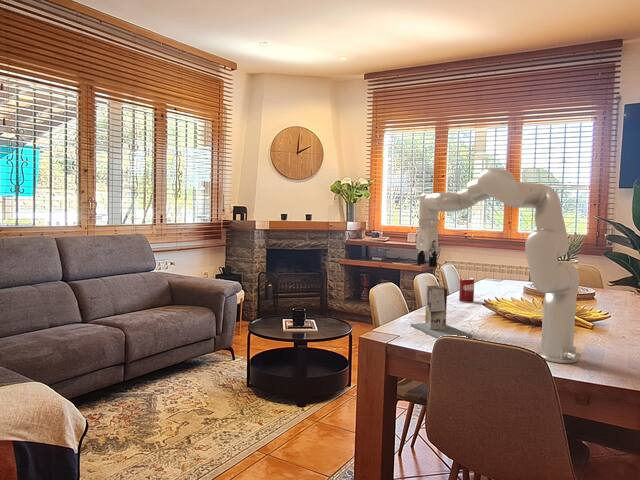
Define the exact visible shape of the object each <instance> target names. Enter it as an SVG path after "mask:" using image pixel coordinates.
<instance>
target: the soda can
mask: <svg viewBox="0 0 640 480" xmlns="http://www.w3.org/2000/svg"><path fill="white" fill-rule="evenodd" d="M458 290H459V291H458V292H459V293H458V294H459V296H458V301H459V302H460V303H465V304H470V303H471V304H472V303H473V302H474V300H475V279H474V278H472V277H460V279H459V289H458Z"/></svg>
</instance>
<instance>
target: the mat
mask: <svg viewBox="0 0 640 480" xmlns="http://www.w3.org/2000/svg"><path fill="white" fill-rule="evenodd" d="M410 327H412V328H414V329H416V330H418V331H421V332H422V333H424V334H426V335H429V336H431V337H433V338H435V339H437V338H439V337H440V336H444V335H457V336H466V337H471V338H473V335H472V334H470V333H468V332H465V331H463V330H460V329H458V328H455V327H453V326H451V325H448V324H447V323H446V329H445V330H436V329H430V328H429V327H428V326H427V325H426V324H425V322H420V323H410Z"/></svg>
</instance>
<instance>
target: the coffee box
mask: <svg viewBox="0 0 640 480" xmlns="http://www.w3.org/2000/svg"><path fill="white" fill-rule="evenodd" d="M425 290H426V291H425V319H424V321H425V322H424V323H425V324H426V325H427V326H428V327H429V328H430V329H436V330H445V329H446V324H447V305H448V304H447V303H448V302H447V300H448V288H446V287H444V286H442V285H426V288H425Z"/></svg>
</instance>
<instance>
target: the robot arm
mask: <svg viewBox="0 0 640 480" xmlns="http://www.w3.org/2000/svg"><path fill="white" fill-rule="evenodd" d="M514 175H515V174H513V173H512V172H511V171H510V170H507V169H505V168H493V167H489V168H486V169H484V170H483V171H481V172H480V173H479V175H478V177H477V178H474V179H471V180H469V181H468V182H467V184H466V188H465V189H463V190H460V191H456V192H423V193H421V194H420V196H419V212H418V215H419V216H418V228H417V233H416V241H415V242H416V243H415V248H416V251H417V252H416V254H417V257H416V259H417V262H416V264H417V265H425V264H426V263H425V262H426V255H425V253H426V252H428V254H429V259H428V267H429V268H436V267H437V266H438V265H437V263H438V257H439V253H440V252H439V251H440V248H441V247H440V245H439V232H438V227H439V225H438V224H439V223H438V222H439V212H441V213H442V212H443V213H445V212H449V213H450V212H454V213H455V212H458V211H461V210H465V209H468V208H471V207H473V206H475V205H476V204H478V203H479V202H482V201H485V200H488V199H491V198H493V199H495V200H496V201H499V202H500V203H503V204H504V205H506V206H508V207H511V208H516V209H517V208H518V209H519V208H520V209H521V208H522V209H523V208H524V209H525V208H526V209H527V208H528V209H529V208H532V209H535V212H534V223H535V227H536V230H533V231H532V232H531V233H529V234H528V236H527V237H526V239H525V243H524V250H525V251H524V252H525V256H526V261H527V266H528V272H529V276H530V280H531V282H532V285H533V287H534V288H535V289H536V290H537V291H539V292H540V293H543V294H544V297H543V304H542V305H543V306H542V324H541V340H540V342H541V343H540V348H539V349H537V350H535V353H536V352H537V353H538V354H540V355H541V356H542V357H543V358H544V359H545V360H544V359H543V360H544V361H546V362H547V361H548V362H551V363H560V364H573V363H577V362H578V361H579V359H581V358H582V354H581V353H579V352H576V350H577V348H576V346H574V342H575V339H574V338H575V323H576V322H575V321H576V306H577V296H578V292H579V288H580V287H579V286H580V283H581V282H580V280H581V276H580V272H579V270H578V268H577V267H576V266H575V265H574V264H572V263H570V262H568V261H559V260H558V258H560V257H562V256H564V255H566V254H567V253H568V251H569V249H570V244H569V243H570V242H569V238H568V232H567V228H566V224H565V223H566V222H565V219H564V215H563V210H562V205H561V200H560V196H559V195H558V193H557V192H556V190H554V188H552V187H551V186H549V185H546V184H543V183H542V184H541V183H535V182H523V181H521V182H520V181H517V180H516V178H515V176H514Z"/></svg>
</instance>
